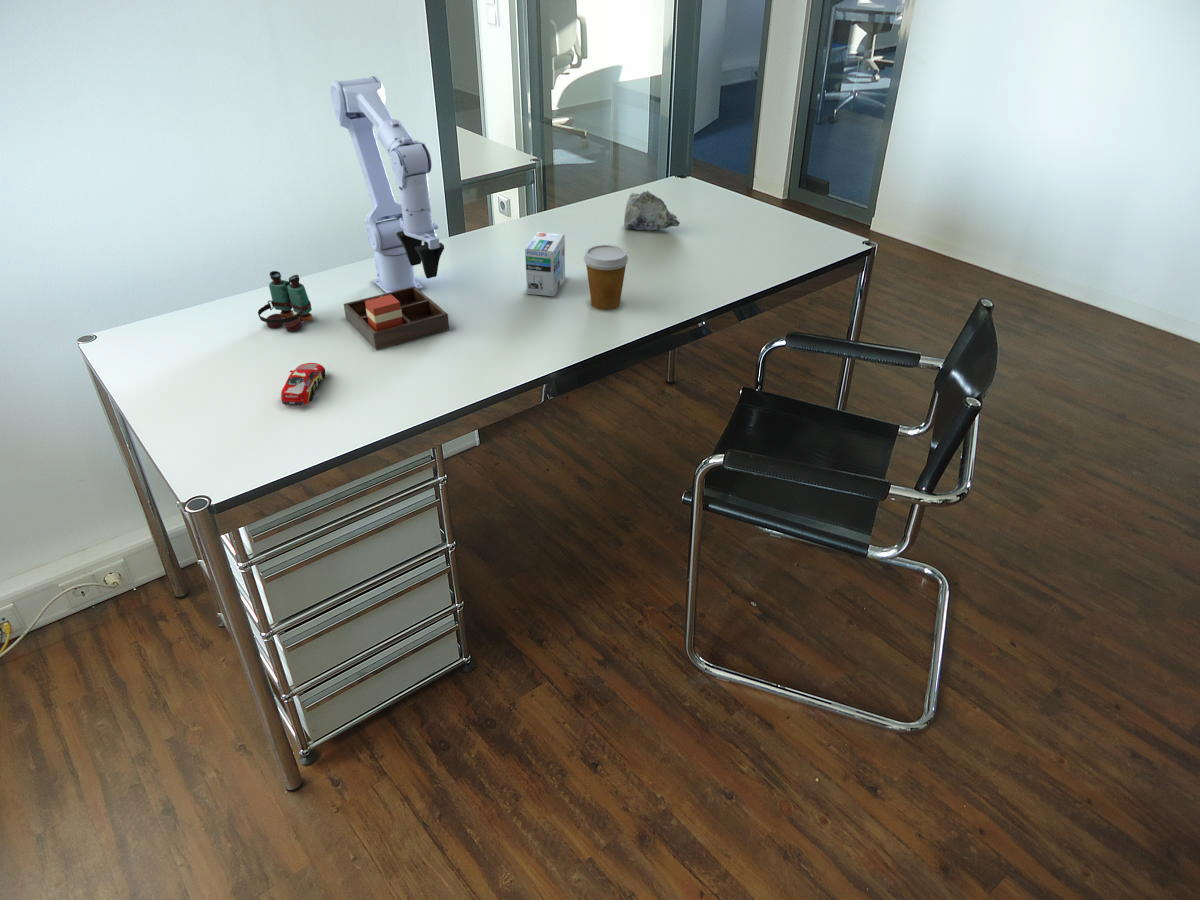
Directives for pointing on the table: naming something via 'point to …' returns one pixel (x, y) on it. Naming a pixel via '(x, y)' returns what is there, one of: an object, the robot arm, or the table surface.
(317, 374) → the race car
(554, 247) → the light bulb box
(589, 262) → the disposable coffee cup
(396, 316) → the red cream striped block
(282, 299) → the binoculars
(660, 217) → the mineral rock
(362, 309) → the organiser
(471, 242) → the table surface
